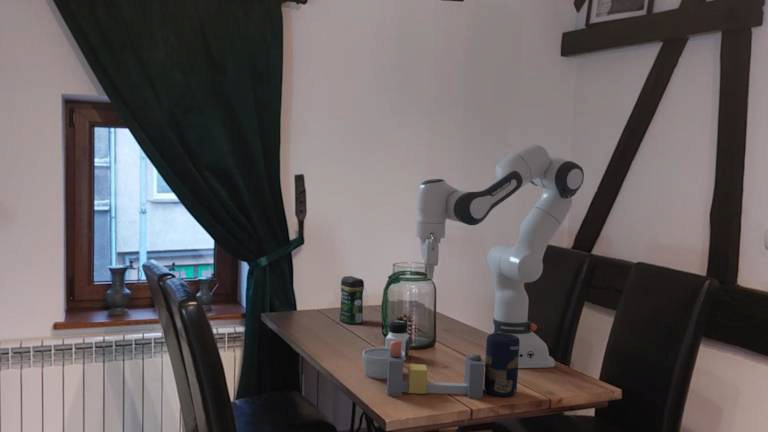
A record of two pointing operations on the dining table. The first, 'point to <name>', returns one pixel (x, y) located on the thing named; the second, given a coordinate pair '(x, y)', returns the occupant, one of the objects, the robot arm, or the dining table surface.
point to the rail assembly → (470, 387)
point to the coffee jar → (351, 300)
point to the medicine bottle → (398, 336)
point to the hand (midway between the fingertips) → (428, 275)
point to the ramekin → (377, 362)
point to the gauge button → (395, 348)
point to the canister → (501, 364)
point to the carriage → (417, 378)
